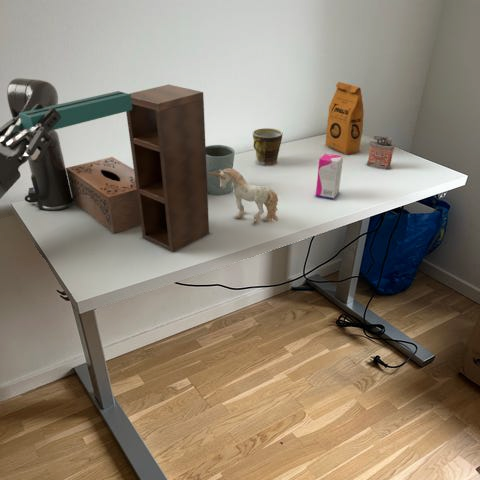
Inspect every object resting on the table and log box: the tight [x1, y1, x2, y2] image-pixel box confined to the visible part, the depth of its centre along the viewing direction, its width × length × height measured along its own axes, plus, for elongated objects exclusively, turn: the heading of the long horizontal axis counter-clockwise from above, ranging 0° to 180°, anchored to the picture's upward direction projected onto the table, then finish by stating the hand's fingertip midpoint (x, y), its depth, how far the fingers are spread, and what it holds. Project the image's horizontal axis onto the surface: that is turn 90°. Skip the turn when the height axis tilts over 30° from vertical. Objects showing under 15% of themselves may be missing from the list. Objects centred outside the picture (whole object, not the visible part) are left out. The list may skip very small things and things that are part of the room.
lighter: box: [366, 134, 395, 170], centre depth 165 cm, size 8×3×10 cm, turn 58°
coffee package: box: [324, 81, 364, 156], centre depth 175 cm, size 10×12×22 cm
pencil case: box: [19, 90, 132, 135], centre depth 94 cm, size 22×4×3 cm, turn 139°
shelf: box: [125, 84, 210, 253], centre depth 117 cm, size 13×11×34 cm
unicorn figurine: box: [207, 168, 280, 225], centre depth 132 cm, size 7×20×13 cm, turn 74°
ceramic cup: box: [252, 127, 283, 167], centre depth 167 cm, size 13×10×10 cm
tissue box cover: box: [65, 156, 141, 234], centre depth 137 cm, size 26×14×10 cm, turn 39°
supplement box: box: [315, 152, 344, 200], centre depth 145 cm, size 6×6×12 cm
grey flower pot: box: [206, 144, 236, 196], centre depth 148 cm, size 10×10×12 cm
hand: (49, 110), depth 89 cm, fingers closed on pencil case, 4 cm apart
